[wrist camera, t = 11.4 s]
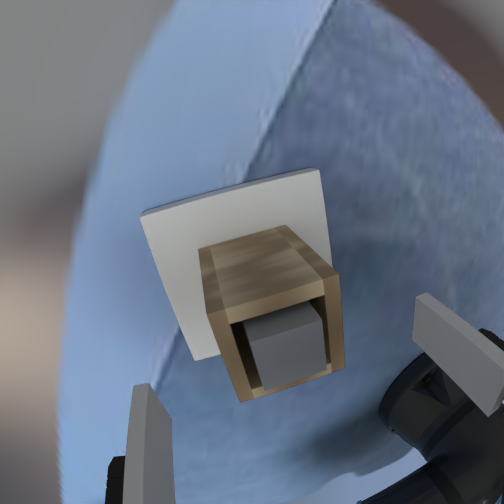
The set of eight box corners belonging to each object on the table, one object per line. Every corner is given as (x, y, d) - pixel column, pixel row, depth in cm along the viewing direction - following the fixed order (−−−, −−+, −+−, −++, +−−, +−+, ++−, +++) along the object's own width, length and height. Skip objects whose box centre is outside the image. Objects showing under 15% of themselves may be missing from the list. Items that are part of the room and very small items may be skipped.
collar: (285, 224, 21) (339, 273, 13) (298, 299, 23) (344, 367, 16) (197, 248, 20) (206, 314, 13) (221, 322, 22) (240, 402, 15)
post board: (310, 167, 21) (403, 196, 12) (329, 308, 26) (394, 389, 16) (142, 211, 20) (106, 278, 10) (193, 349, 25) (205, 454, 15)
